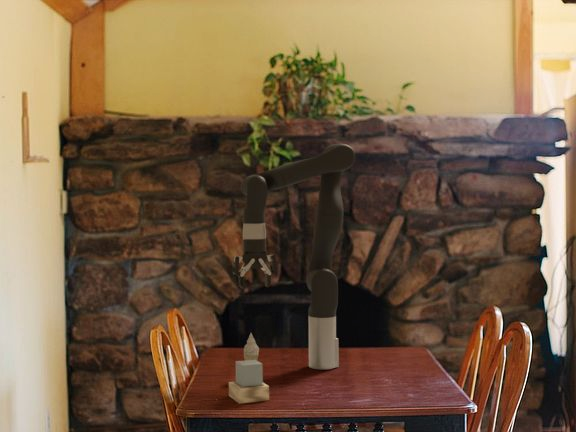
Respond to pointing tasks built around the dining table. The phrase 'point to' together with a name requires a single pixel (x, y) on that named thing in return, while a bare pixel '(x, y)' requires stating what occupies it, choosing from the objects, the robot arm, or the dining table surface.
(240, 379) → the cube
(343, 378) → the dining table surface
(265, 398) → the base
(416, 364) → the dining table surface
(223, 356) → the dining table surface
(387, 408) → the dining table surface
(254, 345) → the ice cream cone
